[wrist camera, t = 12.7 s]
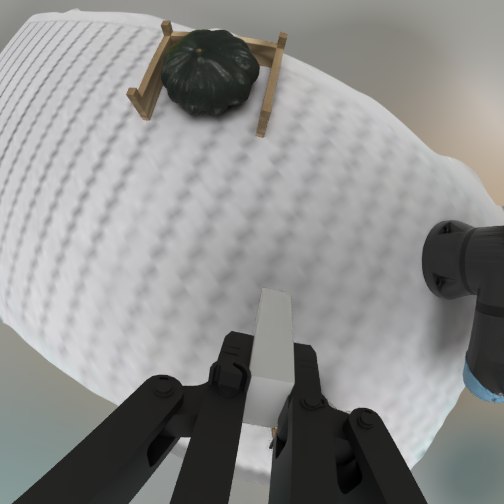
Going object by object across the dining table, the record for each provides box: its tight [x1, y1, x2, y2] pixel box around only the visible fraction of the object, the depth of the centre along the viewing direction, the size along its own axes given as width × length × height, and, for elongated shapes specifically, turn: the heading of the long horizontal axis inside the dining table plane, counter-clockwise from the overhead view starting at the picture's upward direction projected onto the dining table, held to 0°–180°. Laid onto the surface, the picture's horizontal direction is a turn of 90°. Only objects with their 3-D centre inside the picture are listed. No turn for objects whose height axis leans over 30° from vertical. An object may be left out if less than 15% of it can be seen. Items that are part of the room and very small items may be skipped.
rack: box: [126, 21, 288, 137], centre depth 36 cm, size 20×16×9 cm
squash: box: [161, 30, 260, 116], centre depth 35 cm, size 14×15×15 cm
